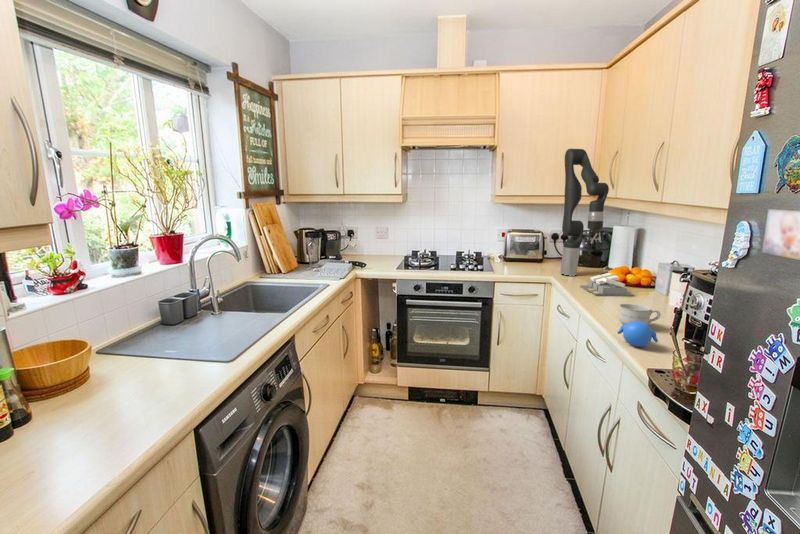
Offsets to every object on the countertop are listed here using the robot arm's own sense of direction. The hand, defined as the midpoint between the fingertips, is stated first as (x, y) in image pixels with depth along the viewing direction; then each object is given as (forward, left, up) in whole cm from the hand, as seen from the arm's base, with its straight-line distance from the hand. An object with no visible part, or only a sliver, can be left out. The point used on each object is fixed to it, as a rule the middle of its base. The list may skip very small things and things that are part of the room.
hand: (593, 249), depth 214 cm
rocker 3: (+22, 0, -13) cm, 26 cm away
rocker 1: (+11, 0, -13) cm, 17 cm away
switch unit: (+17, 0, -19) cm, 25 cm away
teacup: (+68, -15, -20) cm, 73 cm away
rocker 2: (+17, 0, -13) cm, 21 cm away
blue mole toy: (+85, -26, -20) cm, 91 cm away
